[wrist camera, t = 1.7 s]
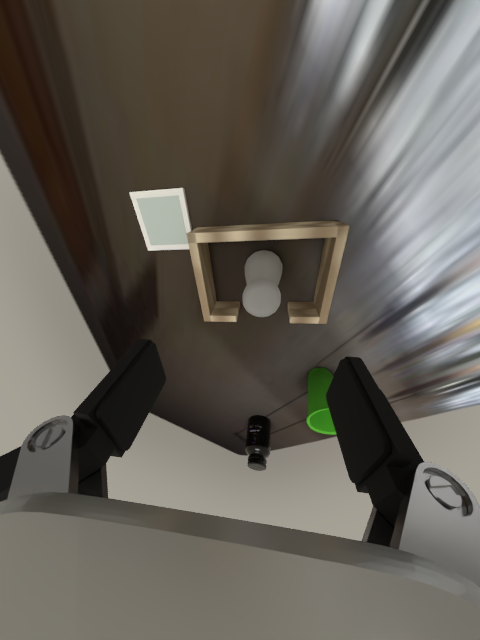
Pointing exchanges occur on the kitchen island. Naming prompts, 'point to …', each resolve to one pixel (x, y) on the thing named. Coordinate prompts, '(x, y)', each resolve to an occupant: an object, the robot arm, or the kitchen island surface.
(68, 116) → the kitchen island surface
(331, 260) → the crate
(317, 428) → the cup
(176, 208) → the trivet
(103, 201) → the kitchen island surface
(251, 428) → the supplement bottle
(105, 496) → the robot arm
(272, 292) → the salt shaker
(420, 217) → the kitchen island surface
